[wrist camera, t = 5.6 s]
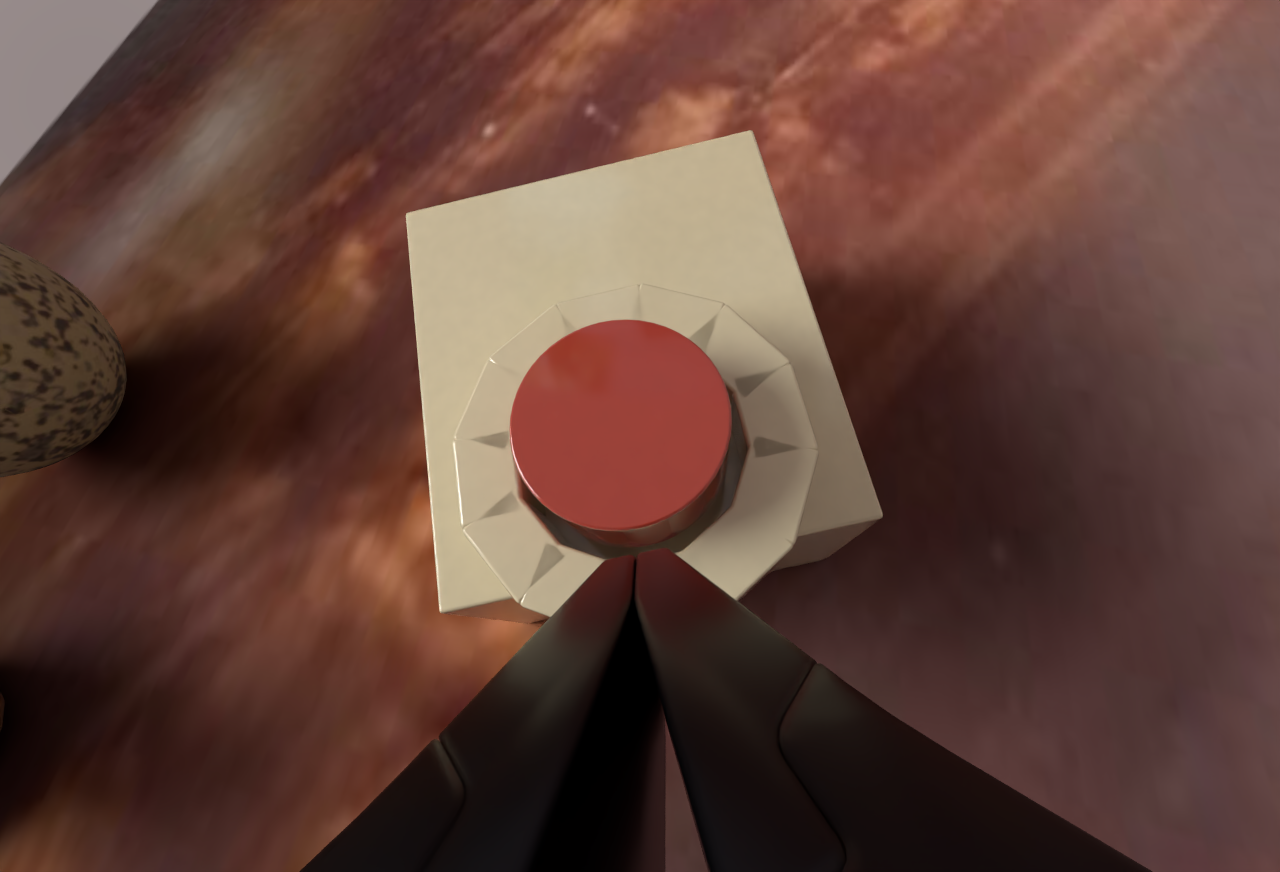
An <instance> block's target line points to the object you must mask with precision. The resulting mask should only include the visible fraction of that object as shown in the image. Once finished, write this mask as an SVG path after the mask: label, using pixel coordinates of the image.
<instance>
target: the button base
mask: <svg viewBox="0 0 1280 872" xmlns="http://www.w3.org/2000/svg"><path fill="white" fill-rule="evenodd" d="M406 222H407V234H408V246H409V257H410V269H411V281H412V293H413V304H414V316H415V328H416V340H417V351H418V363H419V375H420V387H421V398H422V410H423V422H424V434H425V445H426V457H427V469H428V481H429V492H430V504H431V516H432V528H433V539H434V551H435V563H436V574H437V586H438V598H439V610H440V612H441V613H444V614H452V615H460V616H469V617H477V618H485V619H493V620H502V621H510V622H518V623H527V624H528V623H532V622H537V621H542V620H546V619H549V618H550V617H551V616H552V615H553V614H554V613H555V612H556V611H557V610H558V609H559V608H560V607H561V605H562V604H563V603H564V602H565V601H566V600H567V599H568V598H569V597H570V596H571V595H572V594H573V593H574V592H575V591H576V590H577V589H578V588H579V586H580V585H581V584H582V583H583V582H584V581H585V580H586V579H587V578H588V577H589V576H590V575H591V574H592V573H593V572H594V571H595V570H596V568H597V567H598V566H599V565H600V564H601V563H602V562H603V561H605V560H607V559H612V558H617V557H622V556H626V555H633V556H635V557H636V558H637V555H638V554H639V553H641V552H646V551H651V550H655V549H660V548H668V549H670V550H671V551H672V552H674V553H675V554H676V555H678V556H679V557H680V558H682V559H683V560H684V561H685V562H687V563H688V564H689V565H691V566H692V567H693V568H695V569H696V570H697V571H699V572H700V573H701V574H703V575H704V576H705V577H706V578H708V579H709V580H710V581H712V582H713V583H714V584H716V585H717V586H718V587H720V588H721V589H722V590H723V591H725V592H726V593H727V594H729V595H730V596H731V597H733V598H734V599H735V600H737V601H738V602H739V601H740V600H741V599H742V598H743V597H744V596H745V595H746V594H747V593H749V592H750V591H751V590H752V589H753V588H754V587H755V586H756V585H757V584H758V583H759V582H760V581H761V580H762V579H763V578H764V577H765V576H766V575H767V574H769V573H770V572H771V571H774V570H778V569H783V568H788V567H792V566H797V565H802V564H806V563H811V562H816V561H820V560H825V559H826V558H828V557H829V556H831V555H832V554H833V553H835V552H836V551H837V550H839V549H840V548H841V547H843V546H844V545H845V544H847V543H848V542H850V541H851V540H852V539H854V538H855V537H856V536H858V535H859V534H860V533H862V532H863V531H864V530H866V529H867V528H869V527H870V526H871V525H873V524H874V523H875V522H877V521H878V520H879V519H881V518H882V517H883V513H882V510H881V507H880V504H879V501H878V498H877V495H876V492H875V489H874V486H873V483H872V480H871V477H870V474H869V472H868V469H867V466H866V463H865V460H864V457H863V454H862V451H861V448H860V445H859V442H858V439H857V436H856V433H855V430H854V427H853V424H852V421H851V418H850V416H849V413H848V410H847V407H846V404H845V401H844V398H843V395H842V392H841V389H840V386H839V383H838V380H837V377H836V374H835V371H834V368H833V365H832V362H831V360H830V357H829V354H828V351H827V348H826V345H825V342H824V339H823V336H822V333H821V330H820V327H819V324H818V321H817V318H816V315H815V312H814V309H813V306H812V304H811V301H810V298H809V295H808V292H807V289H806V286H805V283H804V280H803V277H802V274H801V271H800V268H799V265H798V262H797V259H796V256H795V253H794V250H793V248H792V245H791V242H790V239H789V236H788V233H787V230H786V227H785V224H784V221H783V218H782V215H781V212H780V209H779V206H778V203H777V200H776V197H775V194H774V192H773V189H772V186H771V183H770V180H769V177H768V174H767V171H766V168H765V165H764V162H763V159H762V156H761V153H760V150H759V147H758V144H757V141H756V138H755V136H754V133H753V131H752V130H749V131H745V132H741V133H737V134H733V135H729V136H725V137H720V138H716V139H712V140H708V141H704V142H700V143H695V144H691V145H687V146H683V147H679V148H675V149H670V150H666V151H662V152H658V153H654V154H650V155H646V156H641V157H637V158H633V159H629V160H625V161H621V162H616V163H612V164H608V165H604V166H600V167H596V168H591V169H587V170H583V171H579V172H575V173H571V174H567V175H562V176H558V177H554V178H550V179H546V180H542V181H537V182H533V183H529V184H525V185H521V186H517V187H512V188H508V189H504V190H500V191H496V192H492V193H488V194H483V195H479V196H475V197H471V198H467V199H463V200H458V201H454V202H450V203H446V204H442V205H438V206H434V207H429V208H425V209H421V210H417V211H413V212H409V213H407V214H406ZM626 319H627V320H641V321H646V322H652V323H656V324H659V325H662V326H665V327H668V328H670V329H672V330H674V331H676V332H678V333H680V334H682V335H683V336H685V337H687V338H688V339H690V340H691V341H692V342H694V343H695V344H696V345H697V346H698V347H700V348H701V349H702V350H703V351H704V352H705V353H706V354H707V356H708V357H709V358H710V359H711V360H712V362H713V363H714V365H715V366H716V367H717V369H718V370H719V372H720V374H721V376H722V378H723V380H724V382H725V385H726V388H727V391H728V394H729V399H730V404H731V411H732V429H731V440H730V449H729V458H728V466H727V471H726V475H725V479H724V481H723V484H722V487H721V489H720V491H719V493H718V495H717V497H716V498H715V500H714V502H713V503H712V504H711V506H710V507H709V509H708V510H707V511H706V512H705V513H704V514H703V515H702V517H701V518H700V519H699V520H698V521H696V522H695V523H694V524H693V525H691V526H690V527H689V528H688V529H686V530H685V531H683V532H681V533H680V534H678V535H676V536H674V537H672V538H670V539H667V540H665V541H663V542H659V543H656V544H652V545H647V546H641V547H617V546H610V545H606V544H602V543H598V542H596V541H593V540H591V539H588V538H586V537H584V536H582V535H581V534H579V533H577V532H576V531H574V530H573V529H572V528H570V527H569V526H568V525H566V524H565V523H564V522H563V521H562V520H560V519H559V518H558V517H557V516H556V515H555V514H553V513H552V512H551V511H550V510H549V509H547V508H546V507H545V506H544V505H543V504H542V503H541V502H540V501H539V500H538V499H537V498H536V497H535V496H534V495H533V494H532V493H531V491H530V490H529V489H528V487H527V486H526V484H525V483H524V481H523V480H522V478H521V476H520V474H519V472H518V470H517V467H516V464H515V462H514V459H513V455H512V450H511V445H510V433H509V427H510V416H511V411H512V406H513V402H514V399H515V396H516V393H517V390H518V388H519V386H520V384H521V382H522V380H523V378H524V377H525V375H526V373H527V372H528V370H529V369H530V367H531V366H532V365H533V364H534V362H535V361H536V360H537V359H538V358H539V357H540V356H541V355H542V354H543V353H544V352H545V351H546V350H547V349H548V348H549V347H550V346H552V345H553V344H554V343H556V342H557V341H559V340H560V339H561V338H563V337H565V336H567V335H568V334H570V333H572V332H574V331H576V330H579V329H581V328H583V327H586V326H589V325H592V324H596V323H599V322H605V321H611V320H626Z"/></svg>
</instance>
